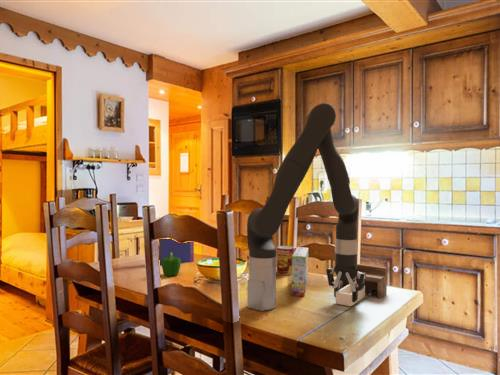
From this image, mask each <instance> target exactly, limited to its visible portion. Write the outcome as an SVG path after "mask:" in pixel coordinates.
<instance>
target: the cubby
mask: <svg viewBox="0 0 500 375" xmlns="http://www.w3.org/2000/svg"><path fill="white" fill-rule="evenodd" d="M387 268H388V267H384V266H383V267H381V266H377V265H376V266H375V265H369V264H368V265H367V264H361V263H357V269H358V272H361V273H366V279H365V283H364V286H365V292H368V297H373V296H374V295H375V294H377V299H382V298H383V297H385V296H386V295H387V283H388V282H387V280H388V277H387V274H388V273H387V272H388V271H387V270H388V269H387ZM355 279H356V282H357V284H359V278H358V275H357V276H356V277H355ZM347 285H349V282H347V281H341V283H340V285H339V288H340V289H342V288H343V287H345V286H347ZM384 295H385V296H384Z"/></svg>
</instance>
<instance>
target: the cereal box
mask: <svg viewBox="0 0 500 375" xmlns="http://www.w3.org/2000/svg"><path fill="white" fill-rule="evenodd" d="M159 218H160V217H158V219H159ZM194 243H195V241H194V242H187V243H178V242H176V241H174V240H172V239H159V238H158V261H159V260H160V264H159V265H160V266H162V259H164V258H166V257H169V258H170V253H172V257H178V258H180V264H184V263H194V261H195V259H194V258H195V257H194V256H195V255H194V254H195V248H194V247H195V244H194Z"/></svg>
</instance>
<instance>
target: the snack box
mask: <svg viewBox="0 0 500 375" xmlns="http://www.w3.org/2000/svg"><path fill="white" fill-rule="evenodd" d="M309 249H310V248H309V247H303V246H302V247H301V246H300V247H298V246H296V248H295V249H294V254H293V256H292V274H291V287H290V290H291V291H290V295H291V296H294V297H298V296H299V297H305V294H306V291H307V286H308V282H309V277H308V275H309V273H308V272H309Z"/></svg>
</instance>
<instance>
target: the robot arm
mask: <svg viewBox="0 0 500 375" xmlns="http://www.w3.org/2000/svg"><path fill="white" fill-rule="evenodd" d="M336 114H337V113H336V110H335V108H334V106H332V105H331V104H330V103H325V102H324V103H319V104H317V105H315V106H314V107H313V108H312V109H311V110H310V112H309V114H308V115H307V117H306V123H305V126H304V128H303V131H302V132H301V134H300V135H299V137H298V138H297V139H296V141H295V142H294V144H293V145H292V146H291V147H290V149H289V150H288V152H287V153H286V155H285V157H284V158H283V160H282V162H281V163H280V165H279V168H278V170H277V172H276V174H275V177H274V178H275V179H274V183H273V188H272V191H271V194H270V196H269V197H268V199H267V201H266V202H265V204H264V206H263V207H262V208H255V209H254V210H252V211H251V212H250V213H249V215H248V217H247V221H246V223H247V224H246V232H247V233H246V235H247V236H246V238H247V240H246V242H247V247H248V253H249V254H248V256H249V257H248V258H249V261H248V262H249V267H248V279H247V308H249V309H251V310H252V309H253V310H257V311H260V312H264V311H269V310H270V311H271V310H273V309H275V308H276V307H277V247H276V246H275V244H274V240H273V236H274V235H275V234H276V233H278V231H279V229H280V227H281V225H282V222H283V220H284V216H285V215H286V213H287V211H288V210H287V209H288V208H289V206H290V204H291V202H292V200H293V198H294V197H295V195H296V193H297V191H298V189H299V187H300V186H301V184H302V182H303V181H304V179H305V177H306V175H307V173H308V171H309V169H310V167H311V165H312V163H313V161H314V159H315V157H316V154H317V151H318V152H319V155H320V158H321V160H322V164H323V168H324V171H325V173H326V176H327V180H328V183H329V186H330V192H331V200H332V204H333V207H334V210H335V211H336V212H337V213H338V220H337V223H336V226H335V243H334V244H335V245H334V267H333V268H332V267H329V268H327V269H326V276H327V283H328V286H330V287H332V288H333V291H334V292H333V296H334V299H336V292H337V291H339V290H340V288H339V285H340V283H341V281H347V282H349V284H350V285H351V287H352V290H353V291H352V302H356V301H357V299H358V291H361V290H362V289H363V288H364V283H365V279H366V273H361V272H358V269H357V264H358V242H357V240H358V239H357V238H358V234H357V231H358V230H357V229H358V228H357V224H358V223H357V222H358V216H359V200H358V199H357V197H356V196H354V195H353V194H352V191H351V188H350V183H351V182H350V177H349V173H348V170H347V167H346V164H345V161H344V159H343V158H342V156H341V154H340V152H339V151H338V149H337V147H336V145H335V143H334V139H333V134H332V127H333V125H334V124H335V122H336V119H337V117H336V116H337V115H336ZM334 274H335V275H336V278H334ZM357 275H358V278H359V284H358V286H357V282H356V279H355V277H356V276H357Z"/></svg>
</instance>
